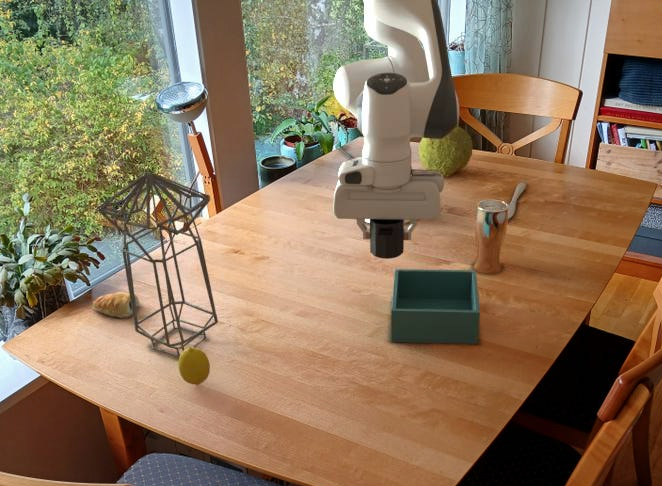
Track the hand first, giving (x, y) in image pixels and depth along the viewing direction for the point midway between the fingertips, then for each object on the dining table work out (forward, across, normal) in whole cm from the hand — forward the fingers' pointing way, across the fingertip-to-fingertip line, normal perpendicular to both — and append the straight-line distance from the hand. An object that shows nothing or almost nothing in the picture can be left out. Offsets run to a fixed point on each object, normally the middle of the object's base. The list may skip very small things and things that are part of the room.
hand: (386, 238), depth 143 cm
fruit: (+17, -12, -79) cm, 82 cm away
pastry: (+17, +57, +1) cm, 60 cm away
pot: (+3, 0, 0) cm, 3 cm away
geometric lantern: (+17, +40, +13) cm, 46 cm away
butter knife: (+17, -30, -58) cm, 67 cm away
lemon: (+17, +33, +26) cm, 46 cm away
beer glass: (+17, -21, -22) cm, 35 cm away
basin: (+17, -10, +2) cm, 20 cm away
